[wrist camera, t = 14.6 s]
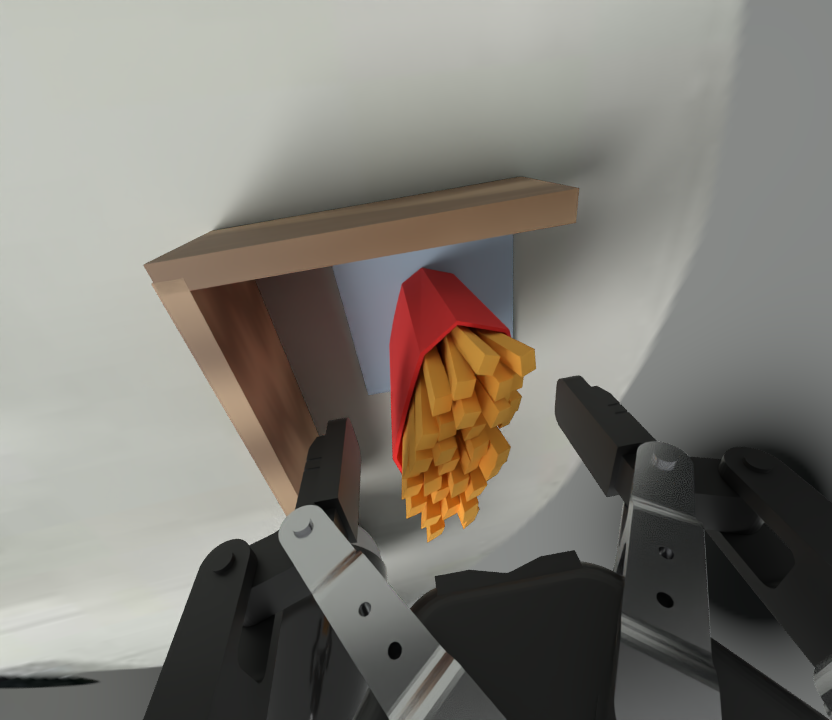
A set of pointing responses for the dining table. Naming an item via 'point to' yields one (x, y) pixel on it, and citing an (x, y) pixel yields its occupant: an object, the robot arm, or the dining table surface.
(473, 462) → the french fries
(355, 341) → the mat
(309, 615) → the pump dispenser
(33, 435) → the dining table surface
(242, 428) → the wooden corner bracket
